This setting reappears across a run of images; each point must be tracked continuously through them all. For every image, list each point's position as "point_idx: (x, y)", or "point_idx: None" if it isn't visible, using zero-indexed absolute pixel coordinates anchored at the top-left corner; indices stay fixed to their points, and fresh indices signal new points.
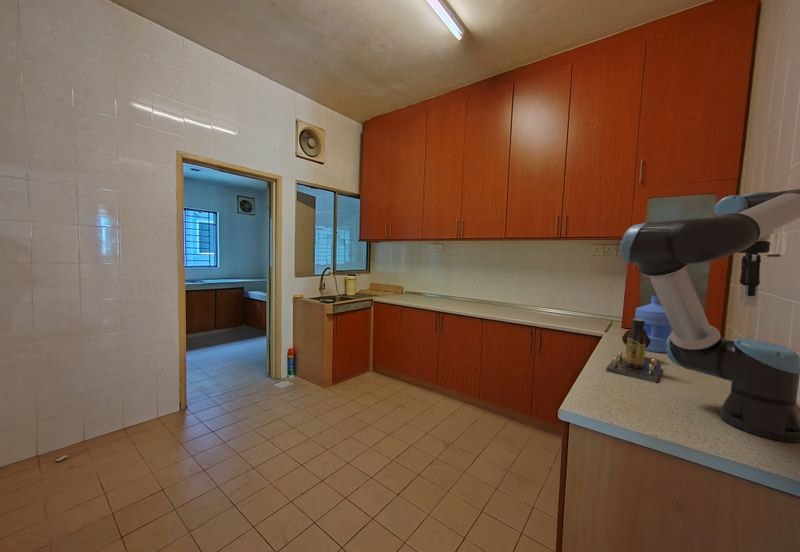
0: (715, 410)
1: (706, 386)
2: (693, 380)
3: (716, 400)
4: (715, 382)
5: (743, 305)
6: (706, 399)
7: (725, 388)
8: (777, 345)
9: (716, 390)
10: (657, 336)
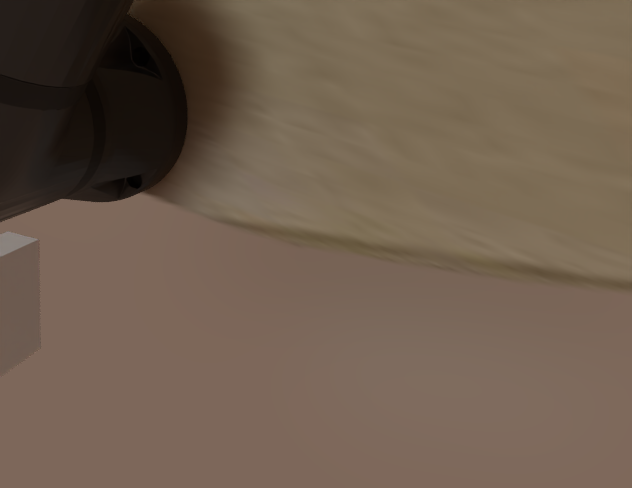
0: (164, 8)
1: (506, 48)
2: (593, 4)
3: (297, 41)
4: (622, 112)
5: (3, 233)
6: (282, 3)
7: (527, 130)
8: None
9: (461, 79)
10: None
